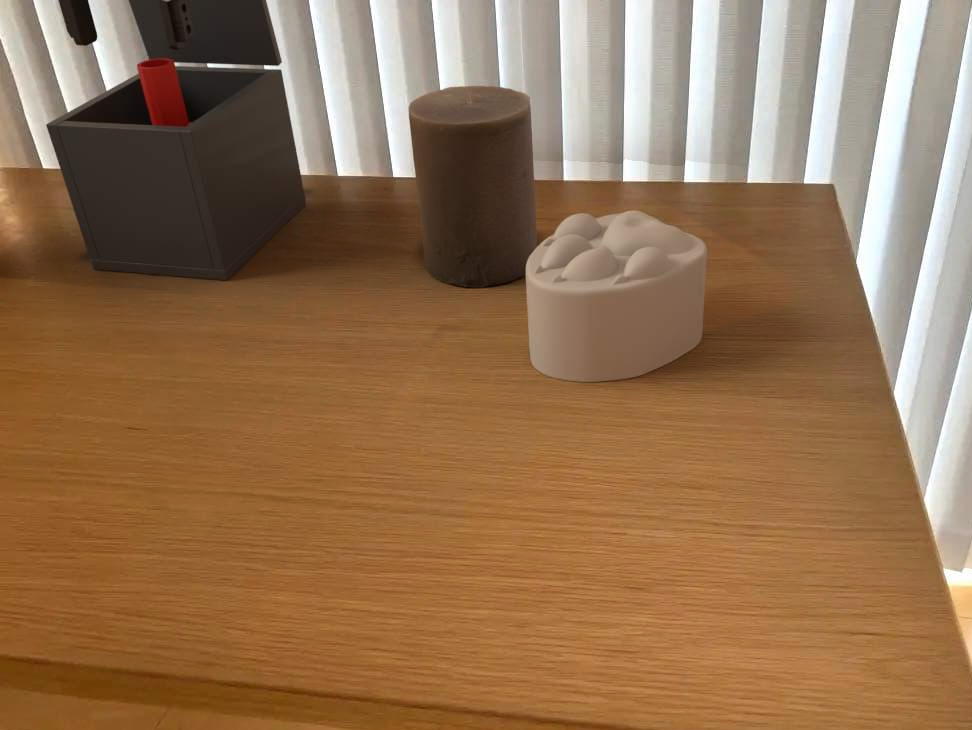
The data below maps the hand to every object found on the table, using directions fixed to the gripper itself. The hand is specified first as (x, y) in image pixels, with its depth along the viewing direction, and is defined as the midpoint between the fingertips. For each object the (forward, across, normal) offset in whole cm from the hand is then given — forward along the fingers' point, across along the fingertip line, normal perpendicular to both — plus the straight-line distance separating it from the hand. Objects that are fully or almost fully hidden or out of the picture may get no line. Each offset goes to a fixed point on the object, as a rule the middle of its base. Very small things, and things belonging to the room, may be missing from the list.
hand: (133, 45), depth 82 cm
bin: (+18, -2, -2) cm, 18 cm away
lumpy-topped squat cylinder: (+17, -41, +11) cm, 46 cm away
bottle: (+16, -2, 0) cm, 17 cm away
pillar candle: (+17, -29, 0) cm, 33 cm away
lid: (-4, -1, -8) cm, 9 cm away
